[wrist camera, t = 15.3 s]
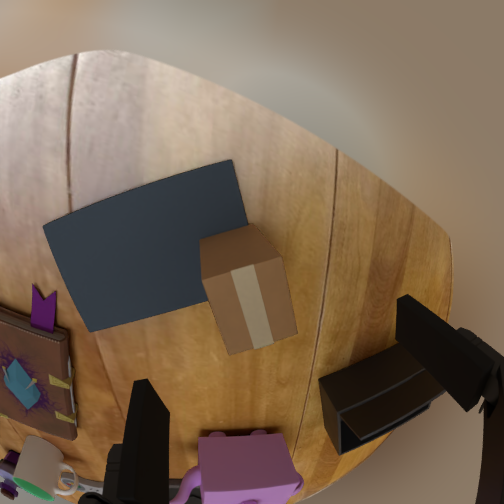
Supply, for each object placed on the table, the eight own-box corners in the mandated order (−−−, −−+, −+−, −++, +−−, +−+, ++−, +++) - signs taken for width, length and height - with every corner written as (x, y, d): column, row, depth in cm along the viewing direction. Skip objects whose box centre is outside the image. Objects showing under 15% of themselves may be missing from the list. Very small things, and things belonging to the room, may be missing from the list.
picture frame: (224, 506, 45) (224, 477, 40) (226, 513, 44) (226, 486, 38) (167, 507, 43) (153, 477, 37) (167, 514, 41) (152, 486, 36)
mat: (230, 159, 25) (231, 159, 24) (261, 280, 29) (263, 284, 28) (46, 223, 23) (42, 226, 22) (92, 327, 27) (89, 332, 26)
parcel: (253, 223, 26) (282, 255, 17) (268, 283, 28) (298, 335, 19) (198, 238, 25) (201, 279, 17) (218, 298, 27) (229, 357, 19)
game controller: (124, 484, 38) (124, 491, 36) (133, 504, 41) (133, 510, 39) (57, 469, 34) (56, 475, 32) (74, 492, 38) (74, 497, 36)
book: (77, 292, 26) (62, 315, 22) (81, 426, 32) (77, 451, 27) (-30, 255, 21) (-53, 270, 16) (-4, 395, 27) (-14, 415, 22)
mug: (76, 448, 33) (66, 495, 23) (86, 469, 35) (80, 511, 25) (20, 430, 30) (5, 471, 20) (34, 452, 32) (23, 491, 22)
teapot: (295, 423, 37) (322, 489, 25) (281, 456, 40) (301, 513, 28) (157, 426, 33) (156, 502, 21) (163, 460, 36) (165, 523, 24)
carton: (324, 427, 39) (339, 455, 33) (318, 378, 35) (337, 412, 29) (409, 386, 41) (429, 408, 35) (418, 332, 36) (444, 355, 30)
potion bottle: (-4, 442, 30) (-18, 480, 19) (19, 448, 31) (5, 490, 20) (18, 465, 33) (8, 501, 22) (42, 470, 34) (33, 510, 23)
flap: (360, 440, 22) (360, 438, 22) (339, 416, 28) (339, 414, 28) (477, 367, 24) (477, 365, 24) (447, 358, 30) (446, 356, 30)
